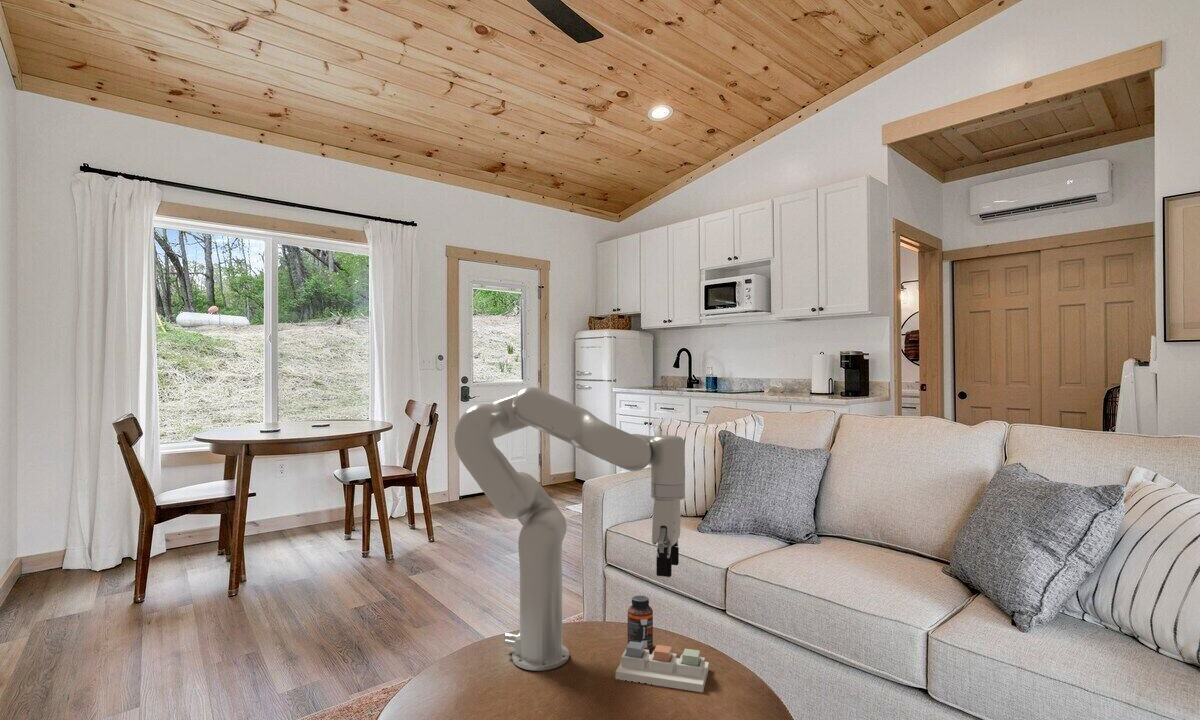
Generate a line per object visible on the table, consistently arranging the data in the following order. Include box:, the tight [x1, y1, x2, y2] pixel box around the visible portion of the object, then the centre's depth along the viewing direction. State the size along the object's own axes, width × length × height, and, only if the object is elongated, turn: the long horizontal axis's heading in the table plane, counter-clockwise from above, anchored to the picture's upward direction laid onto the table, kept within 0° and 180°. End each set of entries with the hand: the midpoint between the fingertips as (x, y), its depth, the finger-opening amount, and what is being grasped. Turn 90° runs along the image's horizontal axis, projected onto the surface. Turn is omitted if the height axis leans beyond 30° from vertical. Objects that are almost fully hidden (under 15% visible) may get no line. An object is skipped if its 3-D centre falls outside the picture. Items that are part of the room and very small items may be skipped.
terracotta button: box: [653, 644, 673, 662], centre depth 122 cm, size 3×3×2 cm
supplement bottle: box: [627, 595, 654, 651], centre depth 134 cm, size 6×6×11 cm
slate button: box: [625, 641, 644, 658], centre depth 123 cm, size 3×3×2 cm
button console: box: [614, 648, 710, 693], centre depth 122 cm, size 18×10×4 cm, turn 73°
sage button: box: [682, 648, 701, 666], centre depth 120 cm, size 3×3×2 cm
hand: (667, 569), depth 128 cm, fingers open, 8 cm apart
